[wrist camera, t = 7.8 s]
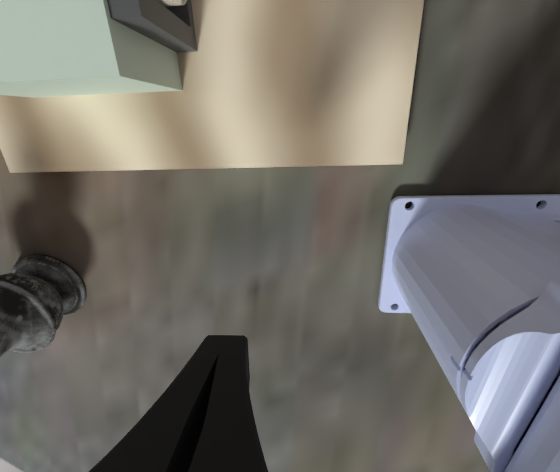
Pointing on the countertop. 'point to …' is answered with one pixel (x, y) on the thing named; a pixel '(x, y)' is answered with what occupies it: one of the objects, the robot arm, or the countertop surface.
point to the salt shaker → (36, 302)
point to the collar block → (92, 46)
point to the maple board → (243, 96)
